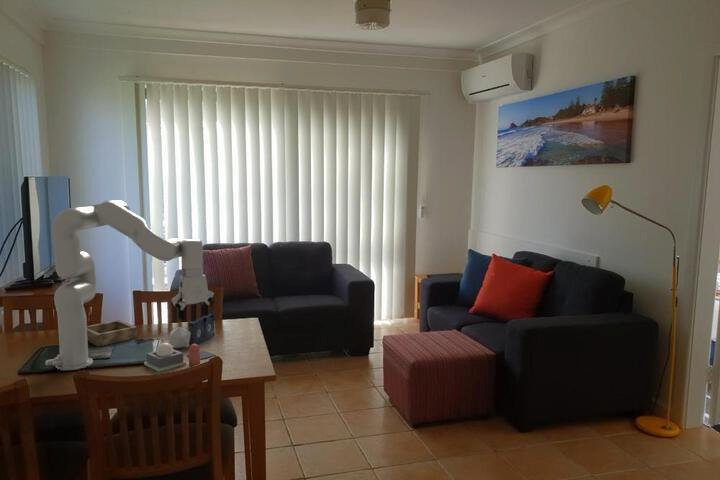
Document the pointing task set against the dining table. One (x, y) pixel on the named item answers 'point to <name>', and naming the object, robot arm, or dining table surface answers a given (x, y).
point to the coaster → (205, 355)
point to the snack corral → (110, 332)
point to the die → (179, 337)
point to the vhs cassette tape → (201, 329)
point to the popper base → (164, 361)
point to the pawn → (194, 355)
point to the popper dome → (164, 350)
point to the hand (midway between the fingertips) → (193, 317)
